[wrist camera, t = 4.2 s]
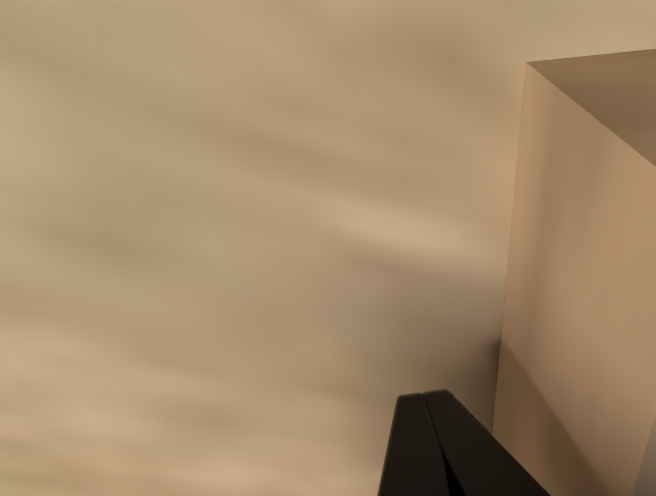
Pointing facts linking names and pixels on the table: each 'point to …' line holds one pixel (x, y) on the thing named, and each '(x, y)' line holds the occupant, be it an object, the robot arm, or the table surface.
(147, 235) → the table surface
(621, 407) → the walnut block
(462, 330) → the table surface
